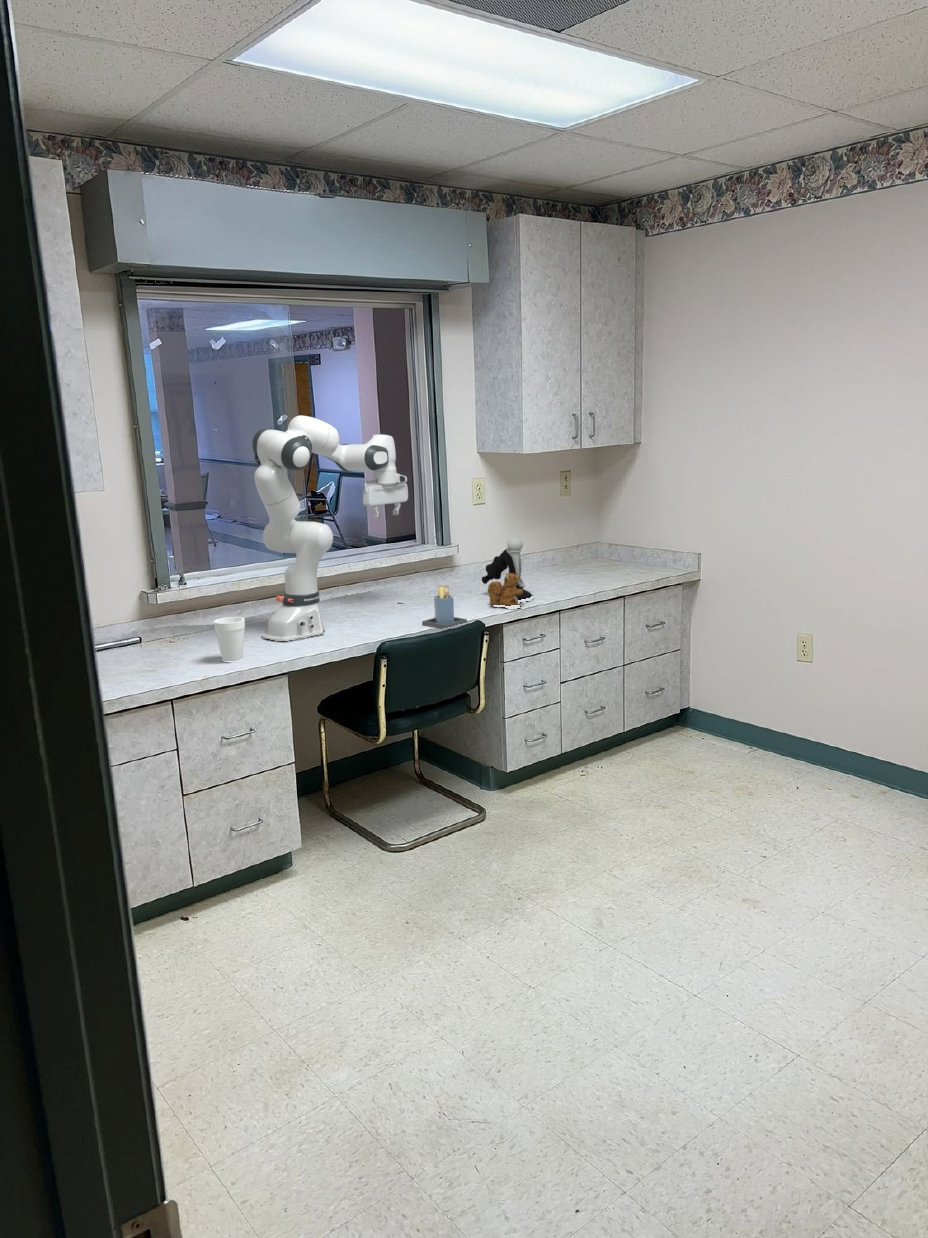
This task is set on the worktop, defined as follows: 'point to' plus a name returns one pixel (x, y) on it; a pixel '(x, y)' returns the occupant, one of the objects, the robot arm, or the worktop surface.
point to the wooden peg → (446, 591)
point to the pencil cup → (444, 610)
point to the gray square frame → (436, 625)
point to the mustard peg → (441, 592)
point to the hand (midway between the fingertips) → (386, 516)
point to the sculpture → (508, 565)
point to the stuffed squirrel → (505, 591)
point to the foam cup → (230, 637)
